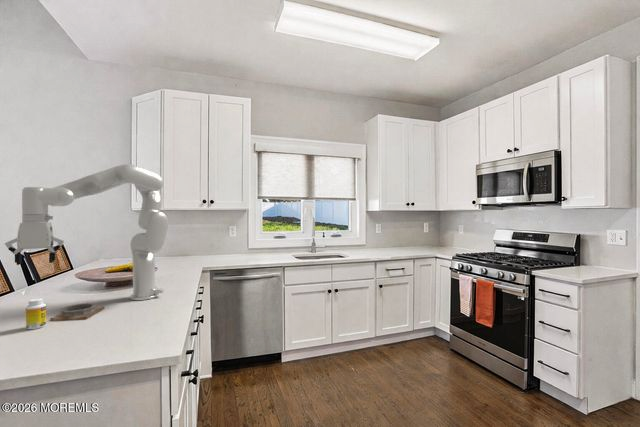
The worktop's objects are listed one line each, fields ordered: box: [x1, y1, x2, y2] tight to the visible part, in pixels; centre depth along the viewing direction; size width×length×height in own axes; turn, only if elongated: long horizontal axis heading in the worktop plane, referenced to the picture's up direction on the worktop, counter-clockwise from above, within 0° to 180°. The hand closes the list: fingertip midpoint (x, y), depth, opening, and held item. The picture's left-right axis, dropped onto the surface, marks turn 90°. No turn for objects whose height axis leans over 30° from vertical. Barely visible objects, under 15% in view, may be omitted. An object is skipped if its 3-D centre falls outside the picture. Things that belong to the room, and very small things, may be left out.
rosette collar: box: [49, 303, 105, 322], centre depth 132 cm, size 13×13×3 cm
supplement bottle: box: [25, 297, 47, 330], centre depth 119 cm, size 6×6×10 cm
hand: (35, 263), depth 124 cm, fingers open, 9 cm apart
